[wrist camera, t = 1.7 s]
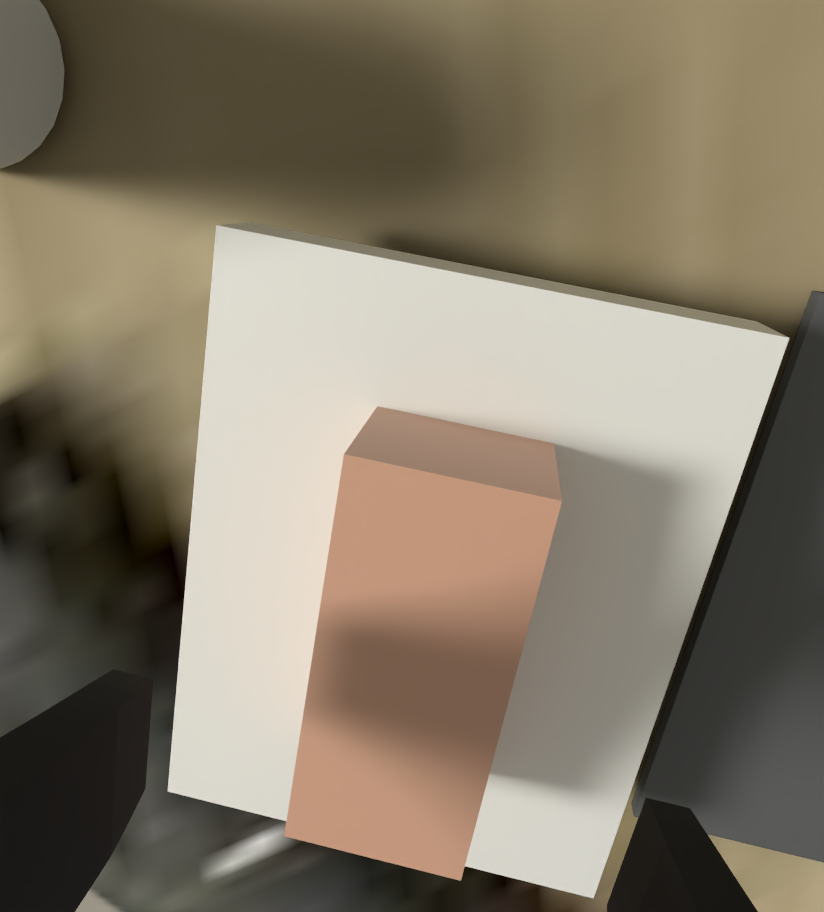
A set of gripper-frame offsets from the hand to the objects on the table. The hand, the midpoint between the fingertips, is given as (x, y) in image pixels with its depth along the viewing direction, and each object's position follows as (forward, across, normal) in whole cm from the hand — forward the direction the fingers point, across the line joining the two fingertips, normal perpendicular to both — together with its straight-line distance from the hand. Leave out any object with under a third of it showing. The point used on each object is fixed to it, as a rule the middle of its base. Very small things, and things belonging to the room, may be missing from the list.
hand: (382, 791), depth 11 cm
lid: (+8, 0, 0) cm, 8 cm away
